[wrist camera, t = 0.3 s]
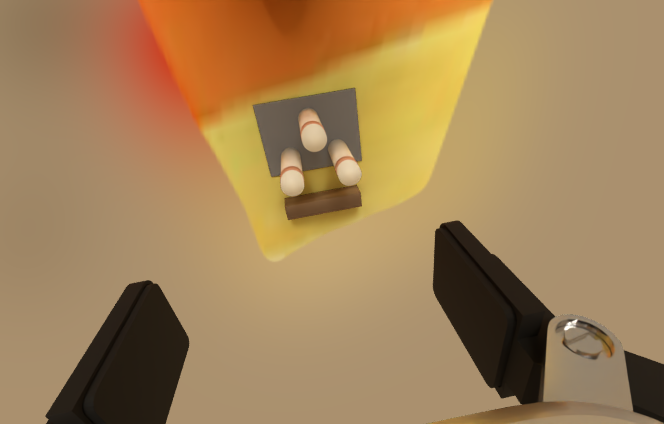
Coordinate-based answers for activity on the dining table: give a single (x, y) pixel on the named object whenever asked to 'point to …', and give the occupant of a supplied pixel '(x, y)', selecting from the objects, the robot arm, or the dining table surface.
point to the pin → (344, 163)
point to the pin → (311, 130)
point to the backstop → (322, 202)
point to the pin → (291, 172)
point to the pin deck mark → (284, 129)
